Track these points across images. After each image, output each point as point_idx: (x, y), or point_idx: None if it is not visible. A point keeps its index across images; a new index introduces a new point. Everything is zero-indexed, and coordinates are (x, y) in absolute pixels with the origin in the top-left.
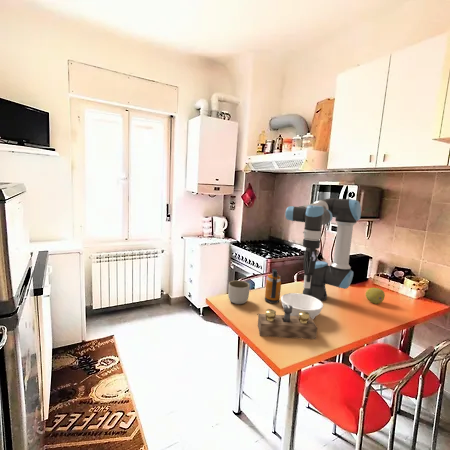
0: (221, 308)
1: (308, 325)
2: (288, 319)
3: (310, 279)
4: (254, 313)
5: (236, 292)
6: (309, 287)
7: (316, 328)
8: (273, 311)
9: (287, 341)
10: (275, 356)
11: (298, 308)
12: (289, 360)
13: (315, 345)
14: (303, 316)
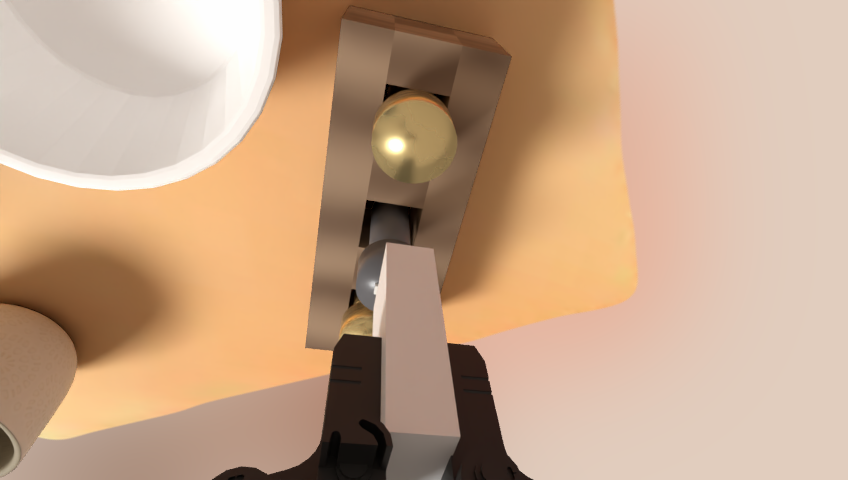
0: (154, 409)
1: (475, 113)
2: (409, 234)
3: (444, 360)
4: (177, 287)
5: (44, 424)
6: (433, 265)
7: (508, 59)
8: (371, 333)
9: (481, 214)
10: (573, 297)
11: (253, 109)
12: (615, 257)
13: (550, 78)
14: (447, 163)
